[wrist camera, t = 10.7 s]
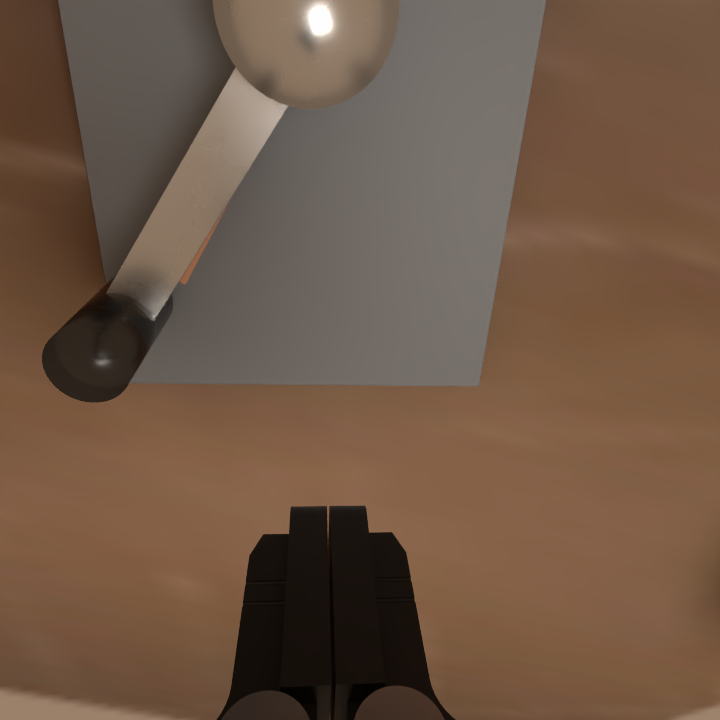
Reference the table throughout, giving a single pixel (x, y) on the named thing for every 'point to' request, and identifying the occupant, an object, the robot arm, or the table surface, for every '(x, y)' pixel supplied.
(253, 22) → the crank handle
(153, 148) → the dial plate
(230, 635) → the table surface
